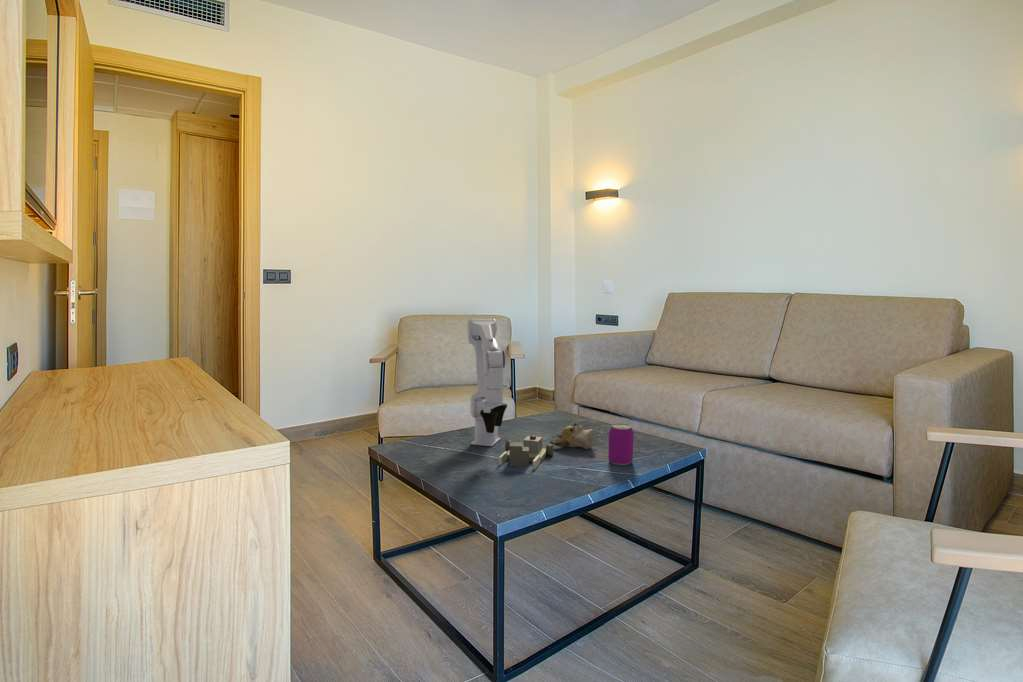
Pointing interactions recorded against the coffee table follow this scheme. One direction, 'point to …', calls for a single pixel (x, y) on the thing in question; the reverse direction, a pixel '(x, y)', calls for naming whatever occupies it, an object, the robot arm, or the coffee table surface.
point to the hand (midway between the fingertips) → (494, 429)
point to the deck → (530, 450)
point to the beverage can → (621, 444)
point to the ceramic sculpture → (575, 437)
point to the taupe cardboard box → (518, 454)
